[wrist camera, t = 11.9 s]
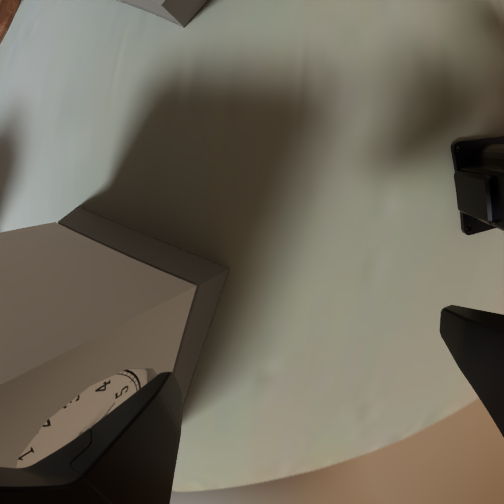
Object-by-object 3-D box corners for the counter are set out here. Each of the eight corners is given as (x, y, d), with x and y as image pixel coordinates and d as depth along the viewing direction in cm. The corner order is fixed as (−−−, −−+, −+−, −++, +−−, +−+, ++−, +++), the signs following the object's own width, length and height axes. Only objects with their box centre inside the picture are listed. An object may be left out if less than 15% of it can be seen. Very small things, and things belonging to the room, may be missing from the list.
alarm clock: (175, 428, 28) (107, 582, 9) (57, 366, 28) (-41, 475, 9) (230, 268, 21) (57, 579, 2) (59, 198, 21) (-152, 287, 2)
